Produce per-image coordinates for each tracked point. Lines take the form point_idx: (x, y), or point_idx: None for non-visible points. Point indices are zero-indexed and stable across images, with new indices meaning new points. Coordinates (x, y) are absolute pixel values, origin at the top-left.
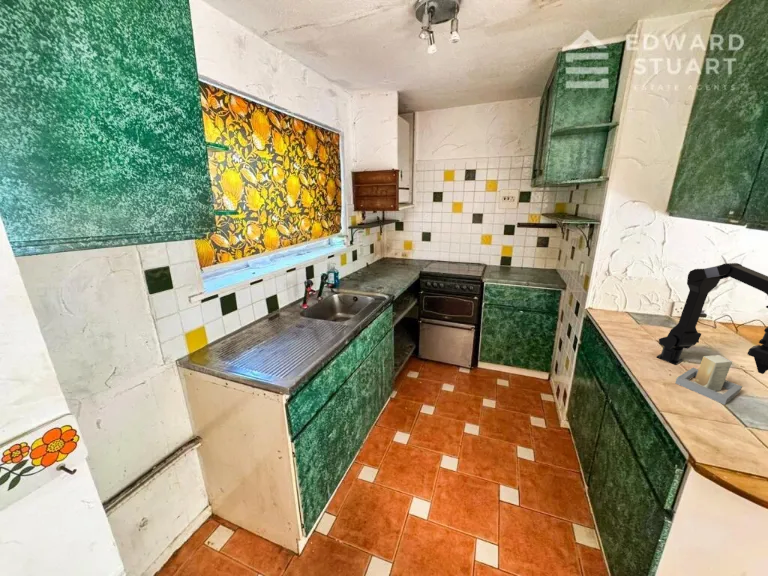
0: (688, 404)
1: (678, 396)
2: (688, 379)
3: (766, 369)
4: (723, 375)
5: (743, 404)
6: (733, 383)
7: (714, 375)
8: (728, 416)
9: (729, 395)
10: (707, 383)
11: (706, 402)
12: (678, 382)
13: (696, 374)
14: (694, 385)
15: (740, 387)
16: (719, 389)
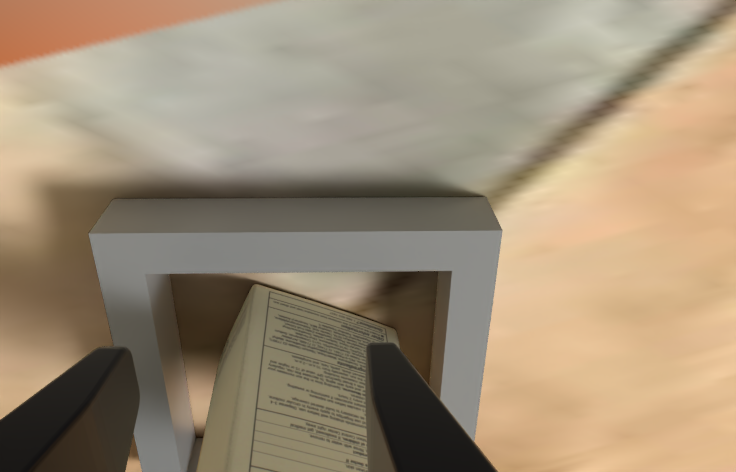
0: (716, 321)
1: (647, 386)
2: None
3: (462, 434)
4: (279, 421)
5: (326, 118)
6: (111, 288)
7: None
8: (673, 124)
9: (419, 238)
10: None
11: (571, 273)
12: None
13: (189, 449)
14: (475, 412)
15: (133, 235)
16: (274, 296)
